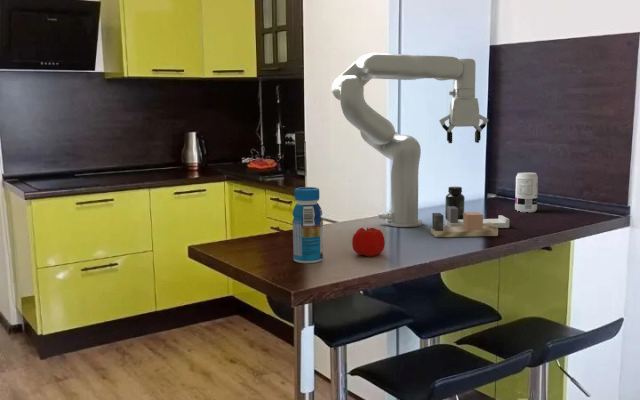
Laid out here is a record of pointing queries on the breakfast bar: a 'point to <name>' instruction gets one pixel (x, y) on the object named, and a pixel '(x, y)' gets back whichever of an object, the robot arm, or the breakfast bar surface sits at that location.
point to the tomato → (368, 242)
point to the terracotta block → (473, 221)
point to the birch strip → (459, 229)
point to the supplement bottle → (455, 201)
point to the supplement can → (526, 192)
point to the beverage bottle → (307, 226)
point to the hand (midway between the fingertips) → (463, 142)
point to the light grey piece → (454, 222)
